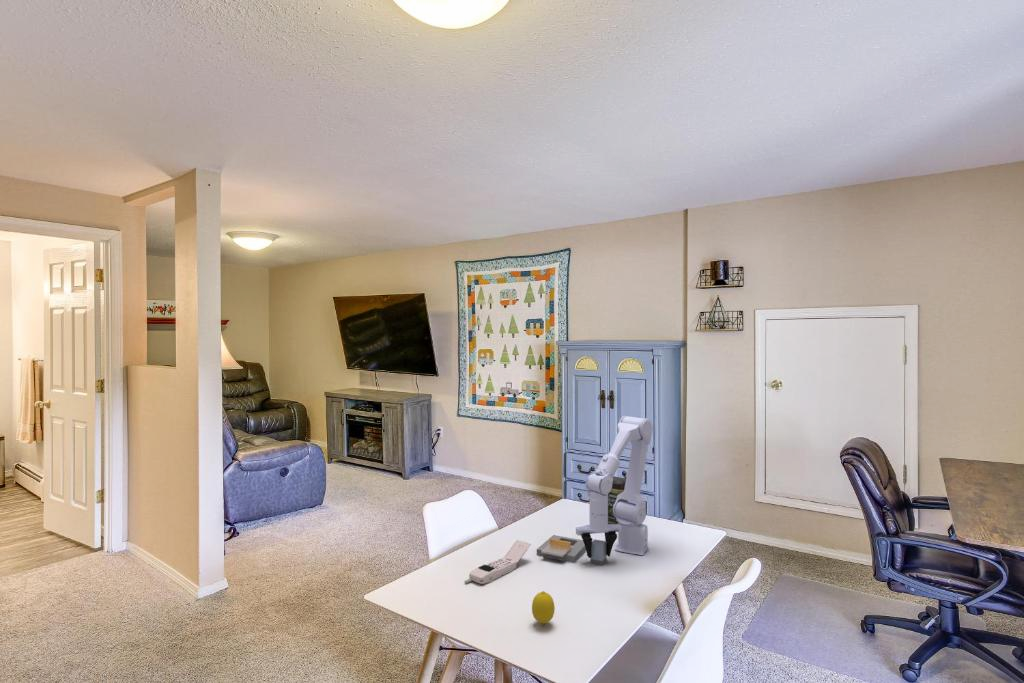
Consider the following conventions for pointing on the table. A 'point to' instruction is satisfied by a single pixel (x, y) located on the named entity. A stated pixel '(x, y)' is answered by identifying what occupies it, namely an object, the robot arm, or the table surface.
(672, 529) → the table surface
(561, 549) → the panel
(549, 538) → the socket far rim
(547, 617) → the lemon
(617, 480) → the coffee jar
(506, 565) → the mobile phone
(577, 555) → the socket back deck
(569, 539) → the socket front rim
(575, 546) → the socket near rim
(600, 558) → the plug
